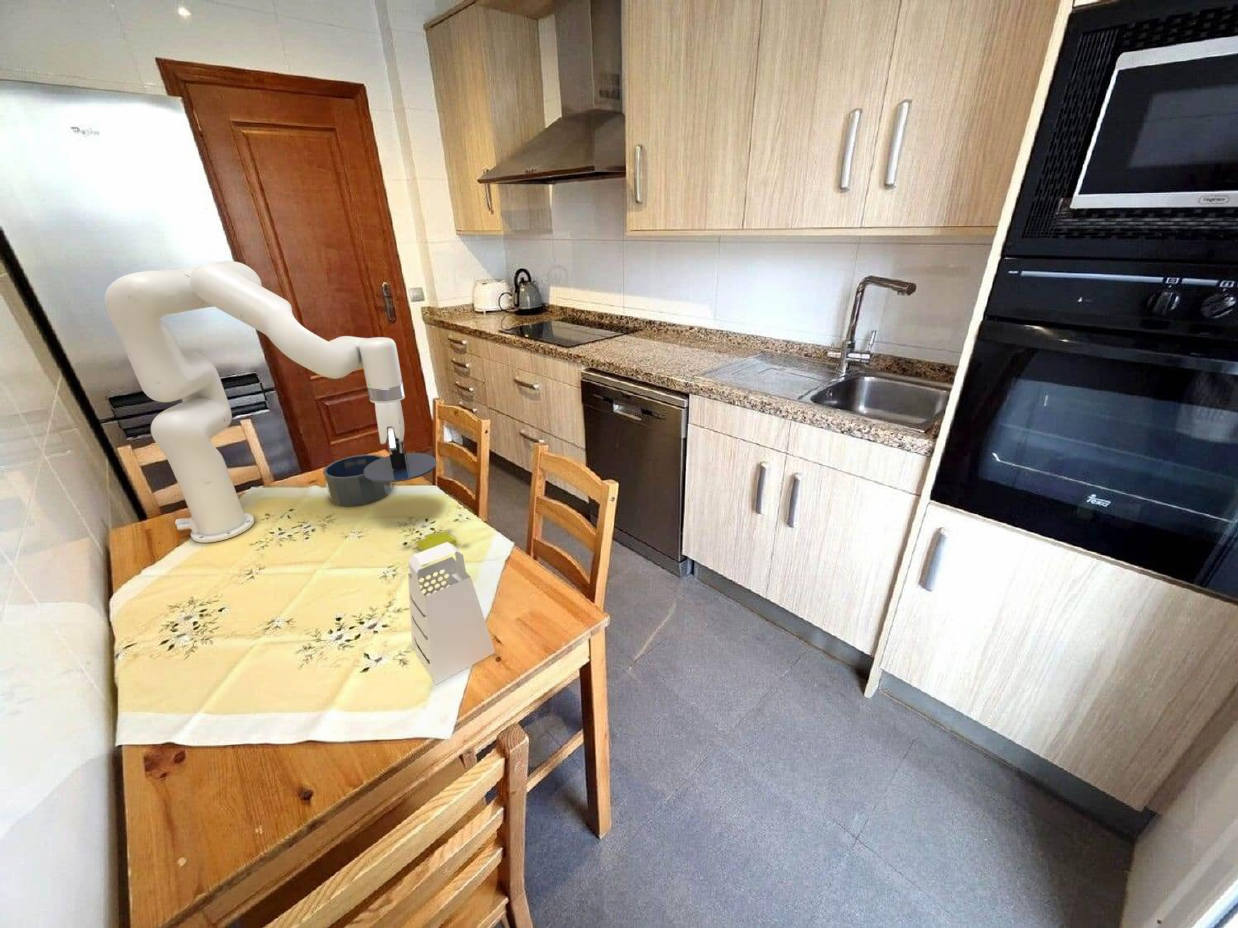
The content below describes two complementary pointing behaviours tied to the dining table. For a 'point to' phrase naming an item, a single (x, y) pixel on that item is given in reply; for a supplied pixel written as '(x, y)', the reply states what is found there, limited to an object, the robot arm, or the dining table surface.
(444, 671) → the grater
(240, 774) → the dining table surface
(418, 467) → the lid
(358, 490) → the pot
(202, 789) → the dining table surface
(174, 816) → the dining table surface
